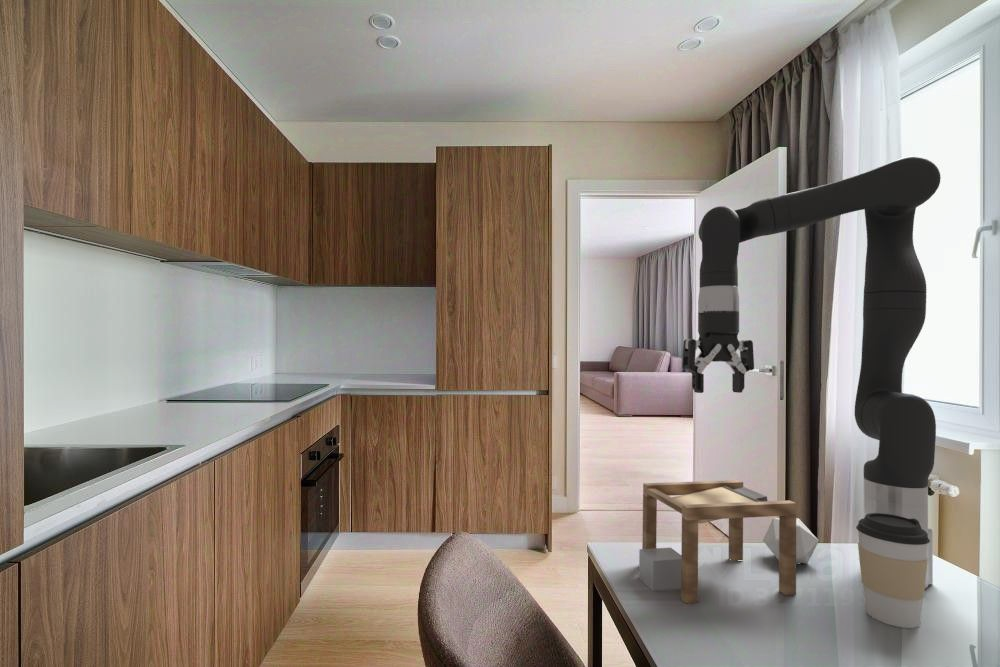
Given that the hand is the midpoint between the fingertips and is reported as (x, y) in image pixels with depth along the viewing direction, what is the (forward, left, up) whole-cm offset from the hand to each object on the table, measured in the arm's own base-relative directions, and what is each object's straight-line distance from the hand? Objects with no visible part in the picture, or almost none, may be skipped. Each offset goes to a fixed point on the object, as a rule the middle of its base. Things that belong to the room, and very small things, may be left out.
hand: (718, 392), depth 102 cm
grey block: (+14, +9, -30) cm, 34 cm away
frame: (+6, +9, -32) cm, 34 cm away
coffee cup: (-13, +25, -32) cm, 43 cm away
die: (-13, +4, -32) cm, 35 cm away
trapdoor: (+5, +9, -21) cm, 23 cm away
